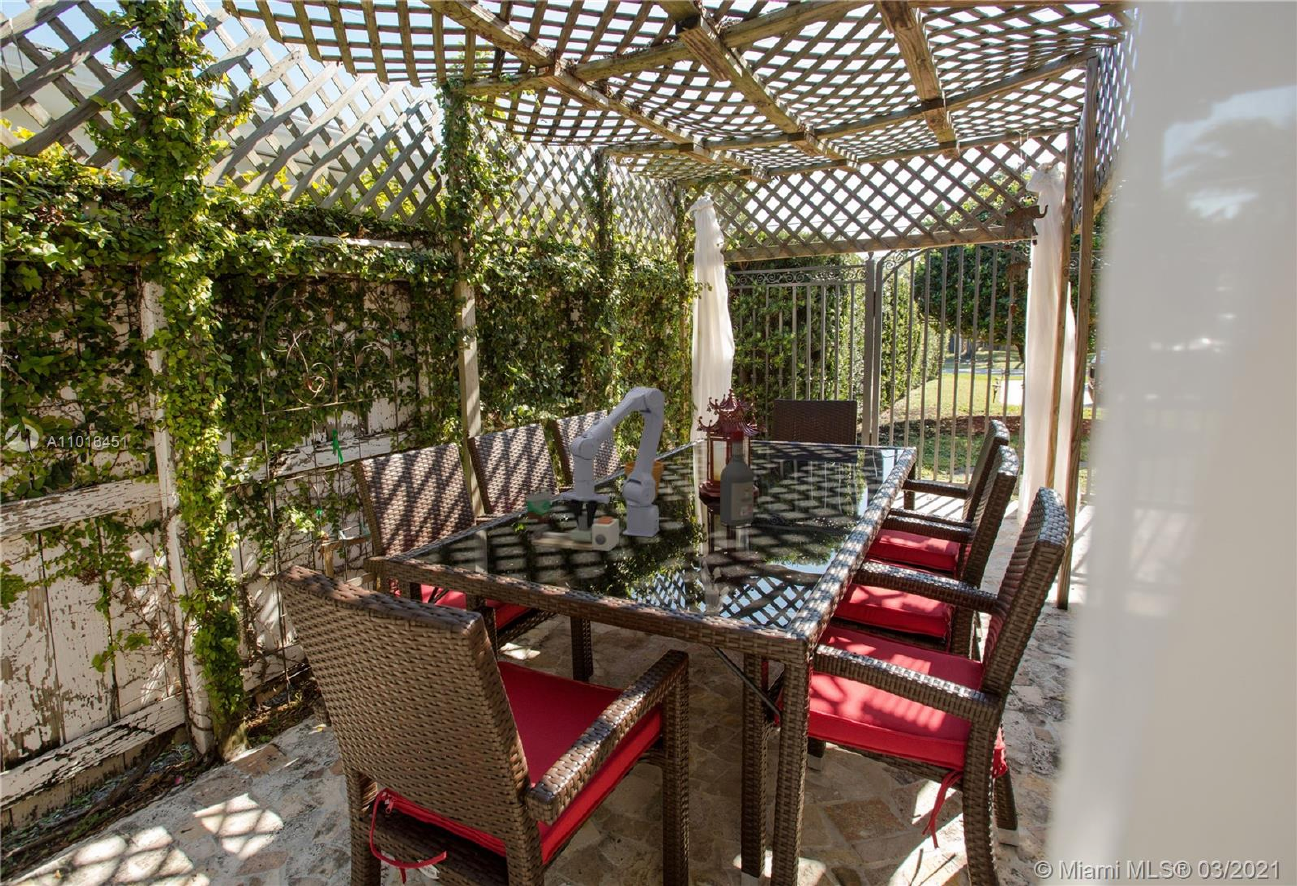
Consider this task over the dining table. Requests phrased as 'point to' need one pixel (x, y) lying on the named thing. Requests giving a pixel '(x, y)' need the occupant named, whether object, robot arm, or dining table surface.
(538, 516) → the food container
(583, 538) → the carriage
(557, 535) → the rail bed
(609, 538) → the end cabinet
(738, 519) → the liquor
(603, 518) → the button
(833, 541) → the dining table surface
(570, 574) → the dining table surface
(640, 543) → the dining table surface
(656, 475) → the flower pot
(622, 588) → the dining table surface
